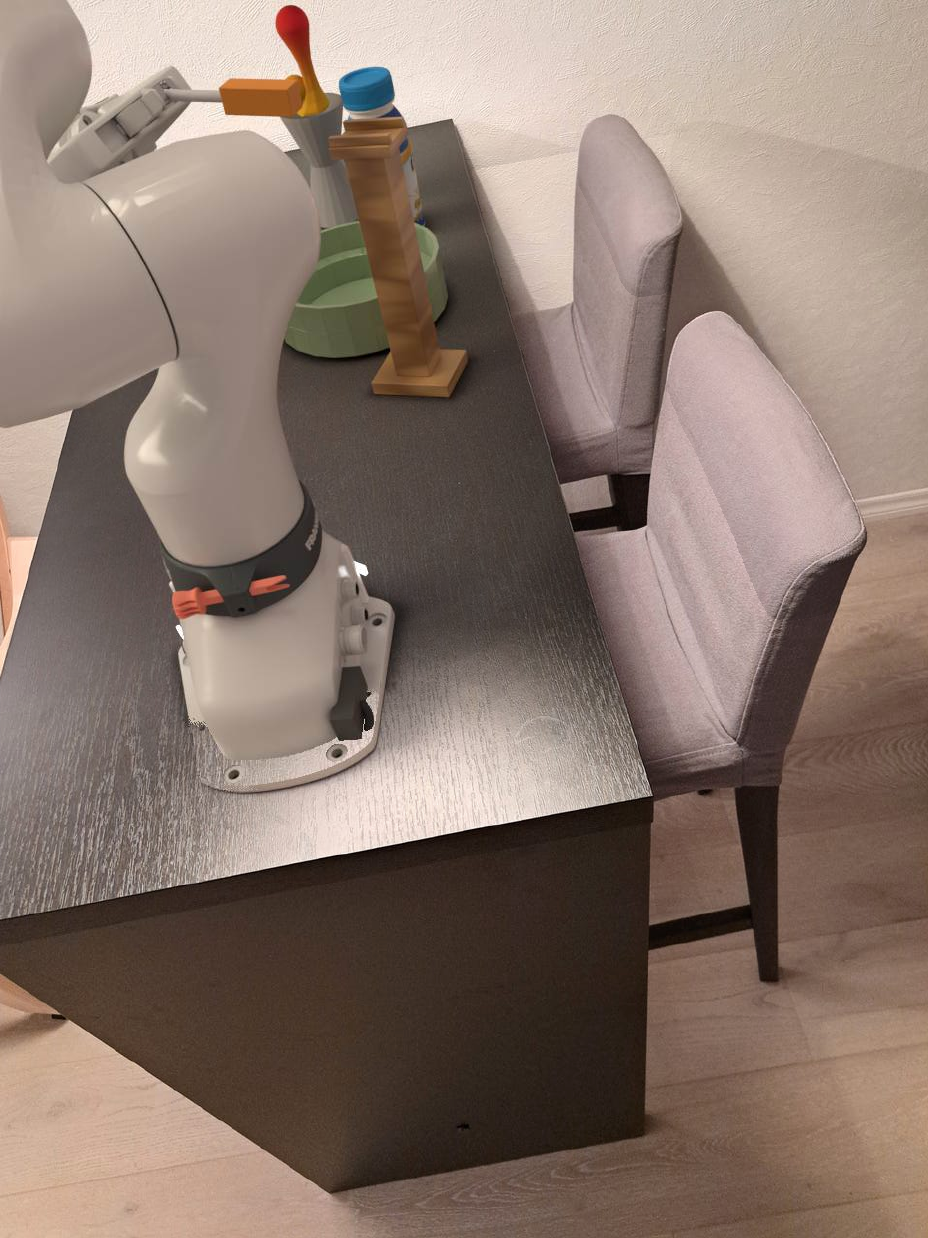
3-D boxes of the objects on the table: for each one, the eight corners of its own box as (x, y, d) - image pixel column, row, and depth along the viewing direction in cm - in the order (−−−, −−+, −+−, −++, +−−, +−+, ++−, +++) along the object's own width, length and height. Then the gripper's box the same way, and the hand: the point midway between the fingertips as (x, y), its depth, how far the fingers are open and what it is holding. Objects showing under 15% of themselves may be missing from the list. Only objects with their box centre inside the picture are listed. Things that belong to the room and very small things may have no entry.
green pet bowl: (458, 338, 110) (448, 283, 105) (281, 377, 111) (263, 323, 106) (438, 257, 125) (428, 205, 120) (281, 291, 125) (265, 240, 120)
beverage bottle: (356, 234, 133) (318, 81, 119) (405, 211, 136) (373, 58, 121) (389, 251, 128) (353, 93, 114) (438, 227, 131) (410, 69, 116)
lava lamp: (369, 195, 142) (304, -88, 116) (367, 221, 136) (298, -71, 110) (311, 205, 143) (233, -73, 117) (306, 232, 136) (223, -56, 111)
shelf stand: (468, 361, 107) (423, 109, 87) (449, 397, 102) (398, 141, 83) (395, 358, 109) (336, 114, 90) (373, 394, 105) (307, 145, 86)
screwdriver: (303, 107, 88) (297, 79, 87) (292, 117, 87) (286, 89, 85) (154, 102, 92) (146, 75, 91) (142, 112, 91) (133, 85, 89)
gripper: (4, 174, 90) (83, 100, 82) (116, 93, 103) (194, 22, 94) (55, 232, 93) (136, 166, 85) (157, 147, 106) (237, 82, 98)
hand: (168, 89), depth 90 cm, fingers closed on screwdriver, 1 cm apart
